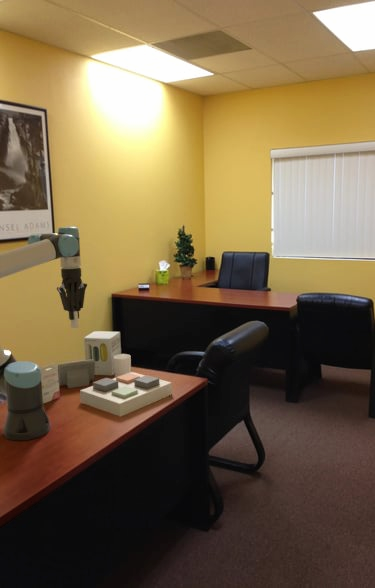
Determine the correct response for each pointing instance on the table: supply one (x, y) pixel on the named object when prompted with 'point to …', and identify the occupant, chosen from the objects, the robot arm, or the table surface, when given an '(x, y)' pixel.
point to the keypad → (126, 405)
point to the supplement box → (102, 350)
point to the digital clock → (76, 373)
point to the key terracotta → (127, 378)
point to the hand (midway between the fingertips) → (74, 327)
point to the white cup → (122, 364)
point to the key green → (124, 392)
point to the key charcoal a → (105, 385)
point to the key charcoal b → (146, 382)
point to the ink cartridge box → (49, 383)
